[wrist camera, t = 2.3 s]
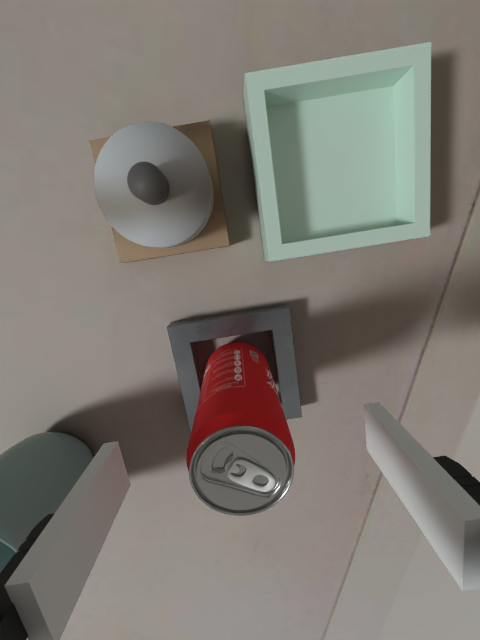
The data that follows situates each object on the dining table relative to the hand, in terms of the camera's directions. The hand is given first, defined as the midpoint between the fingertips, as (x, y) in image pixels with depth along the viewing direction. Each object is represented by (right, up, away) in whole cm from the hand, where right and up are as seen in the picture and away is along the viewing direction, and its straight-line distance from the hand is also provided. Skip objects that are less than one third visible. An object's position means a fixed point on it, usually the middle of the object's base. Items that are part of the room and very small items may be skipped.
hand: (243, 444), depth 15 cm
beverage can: (0, +3, +9) cm, 10 cm away
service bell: (-6, +16, +6) cm, 18 cm away
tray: (+6, +17, +6) cm, 19 cm away
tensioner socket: (0, +3, +9) cm, 10 cm away
